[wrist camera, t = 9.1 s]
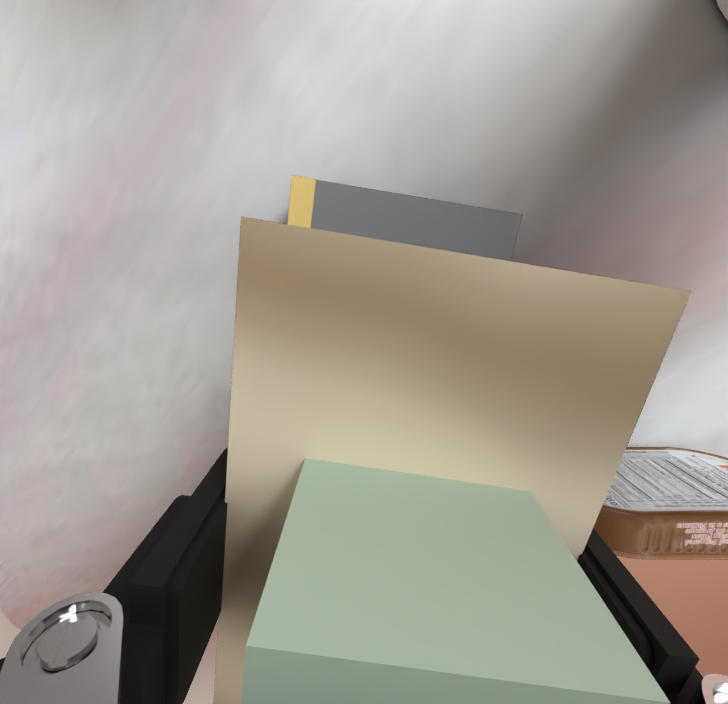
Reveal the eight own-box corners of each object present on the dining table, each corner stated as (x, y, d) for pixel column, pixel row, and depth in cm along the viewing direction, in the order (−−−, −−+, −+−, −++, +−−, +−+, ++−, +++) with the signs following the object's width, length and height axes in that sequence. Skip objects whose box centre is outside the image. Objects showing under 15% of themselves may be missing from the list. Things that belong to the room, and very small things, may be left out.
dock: (305, 189, 22) (291, 175, 18) (495, 221, 22) (523, 214, 18) (277, 469, 27) (261, 506, 23) (430, 490, 28) (441, 531, 24)
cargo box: (305, 457, 7) (245, 645, 4) (530, 491, 7) (669, 703, 4) (281, 642, 8) (223, 899, 5) (470, 668, 8) (533, 934, 5)
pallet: (293, 229, 10) (241, 216, 6) (564, 274, 10) (690, 291, 6) (256, 615, 13) (210, 762, 10) (450, 641, 14) (481, 796, 10)
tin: (510, 475, 27) (570, 570, 19) (514, 439, 26) (579, 522, 18) (707, 474, 27) (854, 570, 19) (718, 438, 26) (876, 520, 18)
